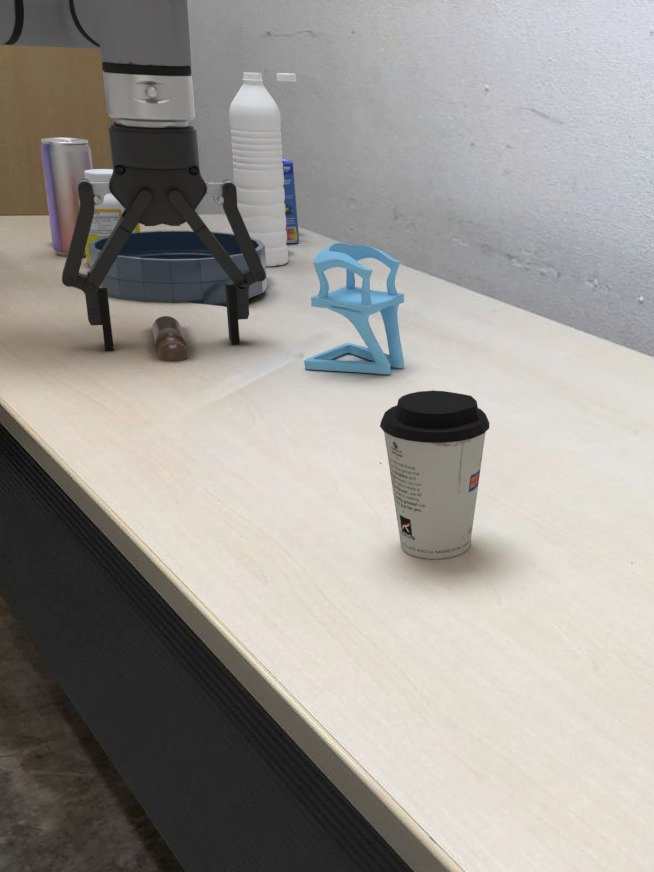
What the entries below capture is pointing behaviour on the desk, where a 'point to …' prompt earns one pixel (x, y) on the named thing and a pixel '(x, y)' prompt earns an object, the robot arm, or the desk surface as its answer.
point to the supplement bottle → (103, 211)
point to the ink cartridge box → (290, 202)
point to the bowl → (174, 267)
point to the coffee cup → (435, 469)
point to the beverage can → (64, 185)
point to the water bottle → (260, 164)
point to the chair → (359, 310)
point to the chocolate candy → (169, 340)
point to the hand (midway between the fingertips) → (174, 353)
